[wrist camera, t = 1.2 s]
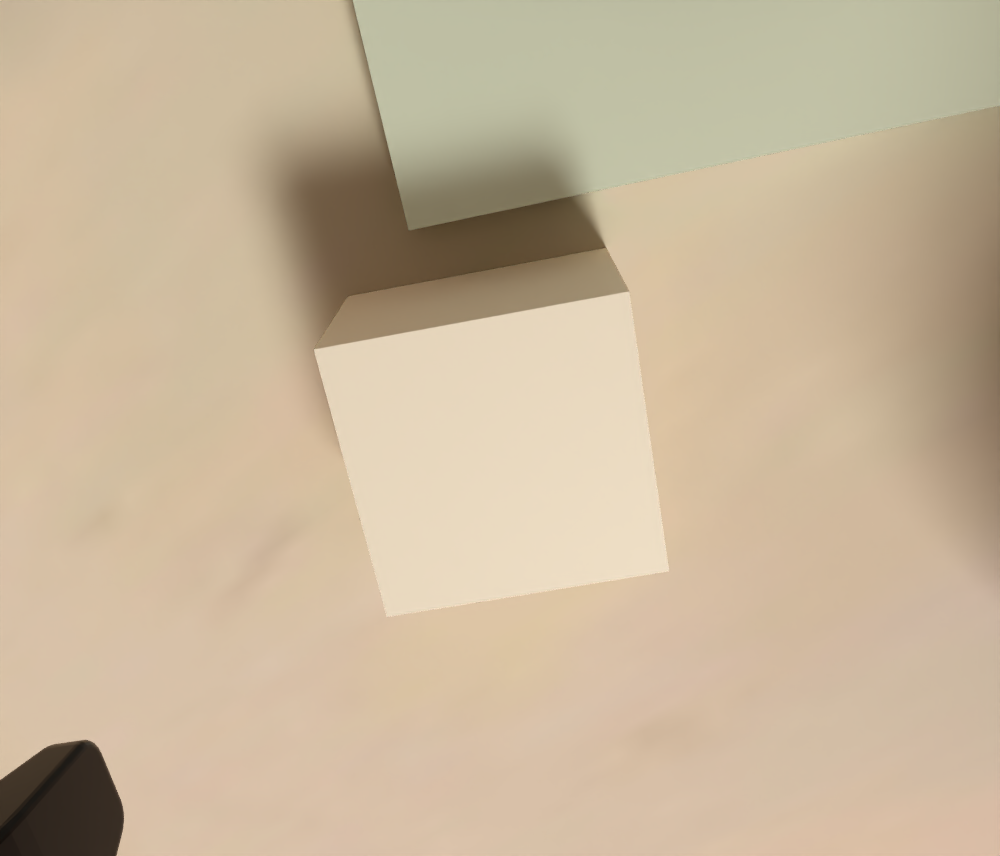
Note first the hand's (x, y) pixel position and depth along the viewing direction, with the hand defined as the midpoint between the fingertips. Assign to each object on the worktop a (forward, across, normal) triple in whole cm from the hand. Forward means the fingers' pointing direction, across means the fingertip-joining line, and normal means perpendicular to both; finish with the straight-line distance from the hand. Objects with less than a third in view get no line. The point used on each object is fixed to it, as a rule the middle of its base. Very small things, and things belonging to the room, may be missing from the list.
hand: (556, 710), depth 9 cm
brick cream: (+12, +1, +1) cm, 12 cm away
